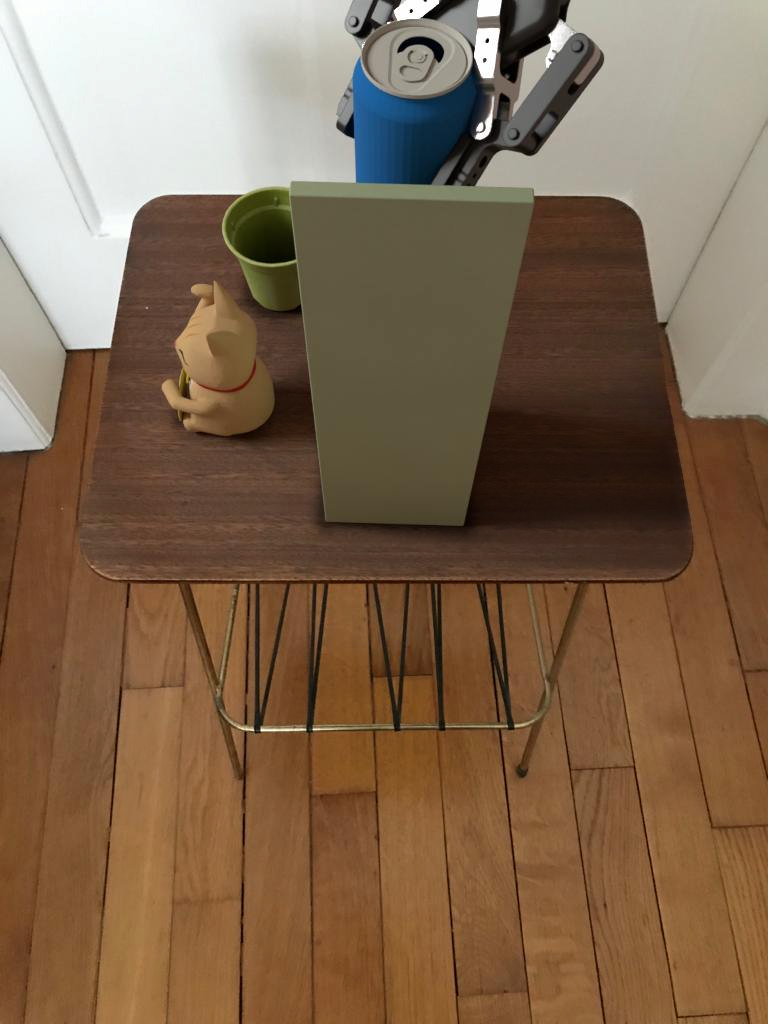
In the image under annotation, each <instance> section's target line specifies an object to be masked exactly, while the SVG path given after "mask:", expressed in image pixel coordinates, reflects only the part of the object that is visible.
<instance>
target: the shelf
mask: <svg viewBox="0 0 768 1024" xmlns="http://www.w3.org/2000/svg"><path fill="white" fill-rule="evenodd" d="M289 188H290V191H289V199H290V208H291V217H292V226H293V235H294V243H295V252H296V261H297V270H298V279H299V288H300V297H301V304H300V305H301V313H302V321H303V322H302V323H303V330H304V331H303V332H304V339H305V347H306V349H305V351H306V356H307V367H308V375H309V384H310V393H311V403H312V412H313V420H314V429H315V436H316V437H315V438H316V446H317V454H318V464H319V472H320V481H321V483H320V484H321V491H322V500H323V509H324V519H325V522H327V523H348V524H349V523H351V524H385V525H386V524H387V525H388V524H389V525H417V526H418V525H419V526H420V525H421V526H422V525H423V526H452V527H453V526H455V527H456V526H457V527H463V526H464V525H465V521H466V517H467V512H468V507H469V502H470V498H471V494H472V490H473V486H474V480H475V475H476V471H477V466H478V461H479V458H480V453H481V448H482V443H483V438H484V435H485V430H486V425H487V420H488V416H489V413H490V407H491V403H492V397H493V395H494V394H493V393H494V389H495V384H496V380H497V376H498V370H499V368H500V367H499V366H500V363H501V362H500V361H501V357H502V353H503V348H504V344H505V338H506V334H507V330H508V325H509V319H510V316H511V311H512V307H513V302H514V297H515V295H516V289H517V285H518V281H519V280H518V279H519V275H520V270H521V266H522V262H523V257H524V254H525V253H524V252H525V248H526V243H527V238H528V236H529V235H528V234H529V230H530V225H531V221H532V216H533V212H534V208H535V203H536V201H535V189H534V188H533V187H518V186H517V187H516V186H515V187H513V186H483V185H482V186H479V185H476V186H448V185H413V184H379V183H356V182H341V181H311V180H310V181H308V180H306V181H305V180H304V181H303V180H291V181H290V183H289Z"/></svg>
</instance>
